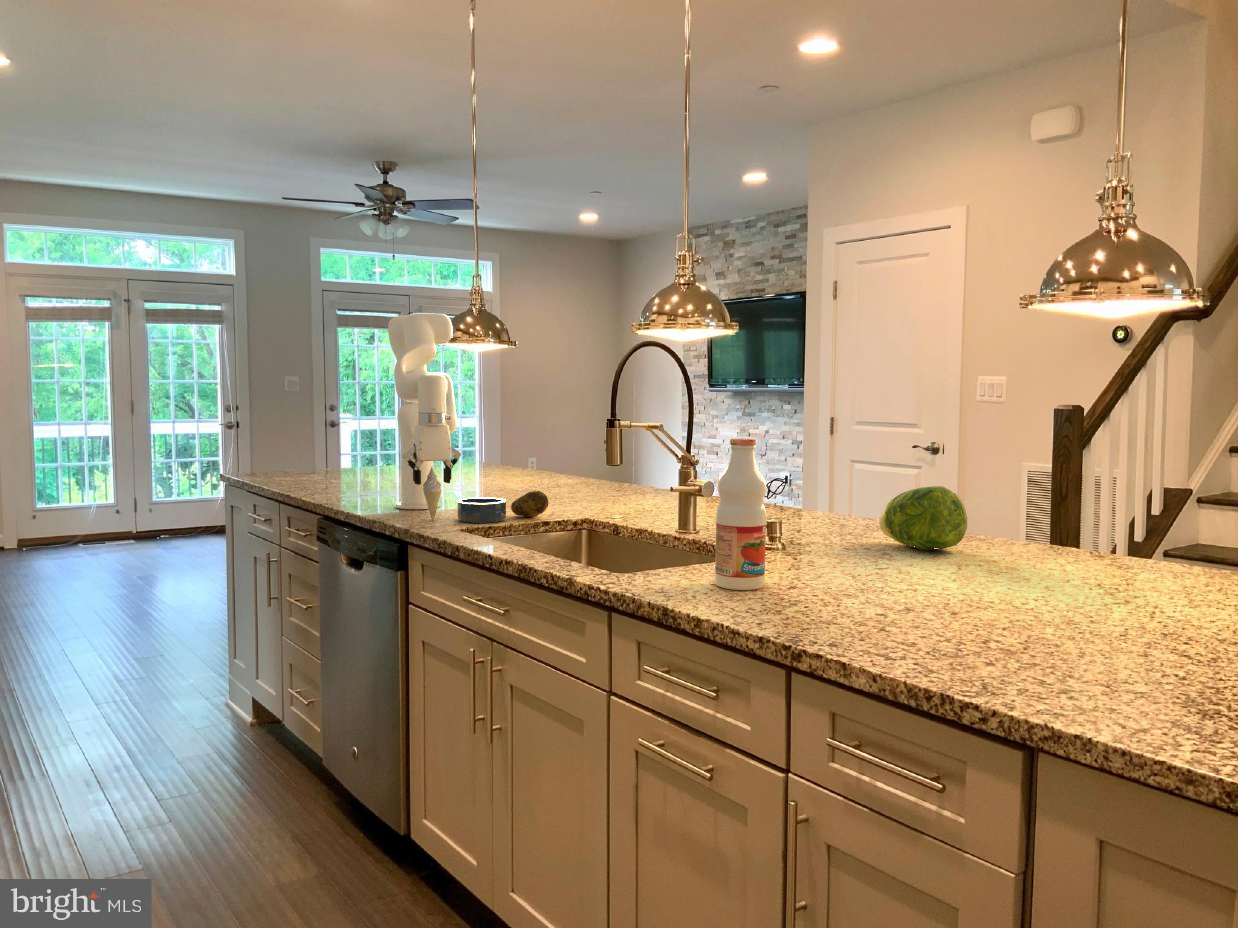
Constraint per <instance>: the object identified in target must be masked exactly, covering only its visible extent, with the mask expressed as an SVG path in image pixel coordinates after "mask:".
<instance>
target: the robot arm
mask: <svg viewBox="0 0 1238 928" xmlns="http://www.w3.org/2000/svg"><path fill="white" fill-rule="evenodd" d="M387 333H388V340H389V344H390V348H391V349H392V352H393V354H394V357H395V359H396V363H395V365H394V371H393V377H394V378H393V379H394V385H395V392H396V395H397V397H398V398H399V399H401V400H403V401H404V402H407V403H406V404H403V405H401V406H400V408H399V409H398V411H397V425H398V431H399V439H400V484H401V485H400V486H401V487H400V488H401V489H400V492H401V494H400V495H401V500H400V501H399V502H397V503H396V504H395V507H396V509H400V510H429V509H428V505H427V502H426V498H425V495H424V492H423V491H424V490H423V484H424V483H425V481H426V480H427V476H428V474H429V472H430V470H431V467H432V468H433V469H434V462H441V461H442V464H443V465H444V468H443V469H442V470H443V483H445V484H451V481H452V469H453V468H454V466H455V465H456V464H457V463H458V461H459V459H460V458H461V456H462V453H461V452H460V451H459V450H457V449H456V448H455V447H453V446H452V439H451V434H453V433H454V432H455V431H456V429H457V423H458V421H457V411H456V410H457V409H456V401H455V392H454V385H453V381H452V378H451V376H450V375H449V374H448V373H446V372H439V371H438V372H435V371H432V372H431V371H428V370H427V365H428V364H430V363H431V362H433V361H434V359H435V358H436V355H437V347H436V345H442V344H446V343H449V342H450V341H451V339H452V337H453V323H452V320H451V318H450V317H449V316H448V315H447V314H444V313H431V312H430V313H429V312H413V313H410V314H407V315H397V316H394V317H392V318H391V319H390V320H389V322H388V325H387ZM452 454H453V456H452ZM437 508H439V505H438V506H437Z"/></svg>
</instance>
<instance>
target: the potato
mask: <svg viewBox="0 0 1238 928" xmlns="http://www.w3.org/2000/svg"><path fill="white" fill-rule="evenodd" d="M549 503H550V502H549V498H548V496H547V494H545V493H544V492H543V491H540V490H534V491H532V490H531V491H527V492H526V493H525V494H523V495H521V496H519V497H518V498H516V499H515V500H513V501H512V502H511V505H510V510H511V511H512V513H513V514H514V515H516V516H519V517H520V516H521V517H525V518H536V517H538V516H539V515H542V514H543V513H544V512H545V511H546V510H547V509H548V507H549Z"/></svg>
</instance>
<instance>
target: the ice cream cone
mask: <svg viewBox="0 0 1238 928" xmlns="http://www.w3.org/2000/svg"><path fill="white" fill-rule="evenodd" d="M437 477H438V476H437V474H436V473H435V471H434V467H433V468H432V467H431V470H430V472H429V474H428V476H427V480H426V481H425V483H424V484H423V490H424V491H423V492H424V495H425V498H426V502H427V505H428V509H427V510H428V513H429V515H430V519H431V521H432V522H433V521H435V517H436V513H437V509H438V507H439V502H440V498H441V494H442V488H441V486H442V484H441V482H440V481H439V480H438V478H437ZM437 506H438V507H437Z"/></svg>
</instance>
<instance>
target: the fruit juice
mask: <svg viewBox="0 0 1238 928" xmlns="http://www.w3.org/2000/svg"><path fill="white" fill-rule="evenodd" d="M729 448H730V450H731V451H730V457H729V461H728V463H727V465H726V468H725V470H724V471H723V472H722V473H721V475H720V476H719V478H718V481H717V492H718V496H719V503H718V505H717V507H716V514H715V515H716V516H715V556H714V557H715V561H714V562H715V563H714V581H715V585H716V586H717V587H719V588H722V589H726V590H734V591H754V590H758V589H762V588H763V587H764V585H765V581H766V580H765V579H766V575H765V574H766V542H767V541H766V538H767V537H766V536H767V510H766V507H765V503H764V499H765V495H766V493H767V481H766V479H765V477H764V475H763V474H762V472H761V471H760V469H759V467H758V464H757V460H756V457H755V449H756V448H757V440H756V439H754V438H730V439H729Z"/></svg>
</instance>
